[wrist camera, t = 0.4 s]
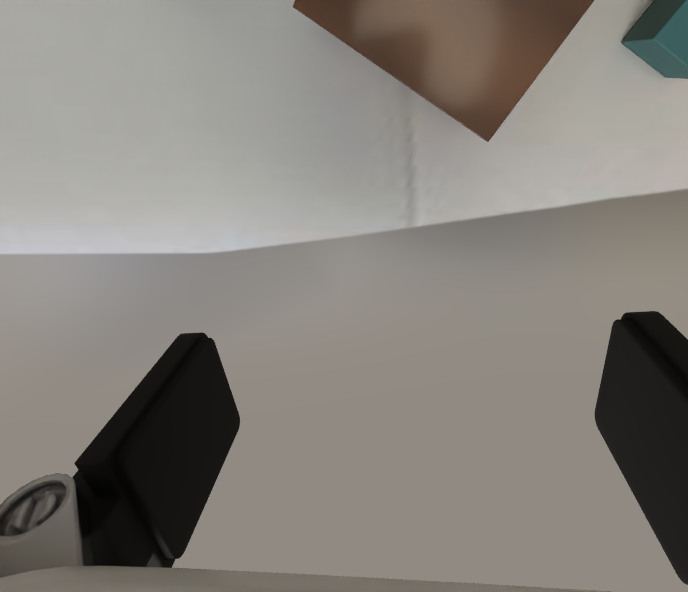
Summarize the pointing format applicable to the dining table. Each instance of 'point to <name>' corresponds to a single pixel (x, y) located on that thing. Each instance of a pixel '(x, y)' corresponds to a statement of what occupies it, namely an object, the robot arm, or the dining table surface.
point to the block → (662, 37)
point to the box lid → (455, 47)
